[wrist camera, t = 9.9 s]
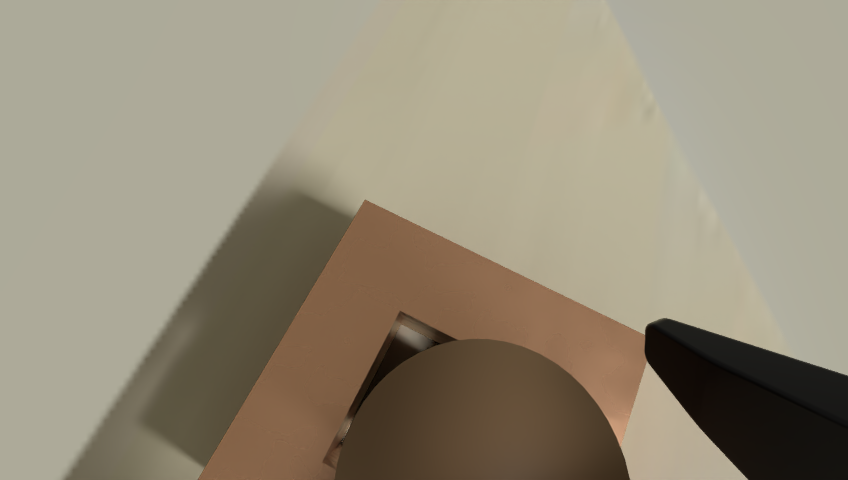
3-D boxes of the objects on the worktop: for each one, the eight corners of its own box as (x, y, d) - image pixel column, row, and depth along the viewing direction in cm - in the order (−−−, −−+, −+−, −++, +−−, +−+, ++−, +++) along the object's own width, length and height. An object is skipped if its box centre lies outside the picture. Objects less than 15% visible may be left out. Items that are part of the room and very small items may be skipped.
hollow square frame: (501, 644, 15) (533, 730, 12) (228, 484, 17) (176, 515, 13) (603, 346, 19) (653, 339, 15) (372, 232, 20) (365, 199, 16)
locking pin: (451, 483, 17) (573, 760, 5) (365, 435, 17) (271, 578, 5) (490, 390, 18) (668, 418, 6) (409, 348, 19) (418, 292, 6)
